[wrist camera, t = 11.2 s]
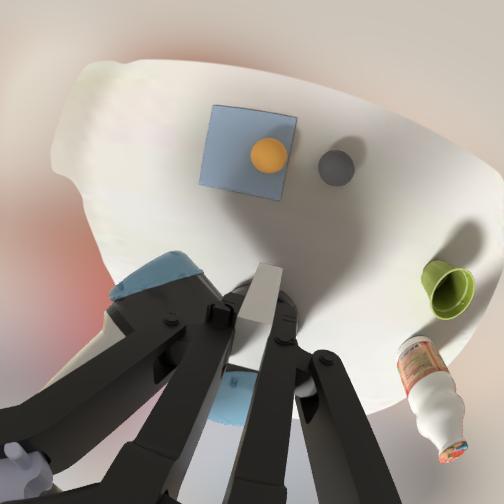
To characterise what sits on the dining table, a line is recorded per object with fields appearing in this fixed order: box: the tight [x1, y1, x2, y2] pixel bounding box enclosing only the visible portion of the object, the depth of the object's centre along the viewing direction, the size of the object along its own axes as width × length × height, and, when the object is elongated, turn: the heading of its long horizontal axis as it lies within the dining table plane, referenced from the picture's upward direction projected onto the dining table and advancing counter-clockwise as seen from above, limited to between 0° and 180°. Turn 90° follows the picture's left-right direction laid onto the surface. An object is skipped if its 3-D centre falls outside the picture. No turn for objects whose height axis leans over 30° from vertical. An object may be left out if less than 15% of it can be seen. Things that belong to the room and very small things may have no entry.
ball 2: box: [318, 151, 354, 186], centre depth 39 cm, size 6×6×6 cm
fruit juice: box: [395, 336, 468, 463], centre depth 36 cm, size 9×9×28 cm
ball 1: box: [251, 138, 287, 173], centre depth 41 cm, size 6×6×6 cm
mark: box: [199, 105, 297, 201], centre depth 43 cm, size 14×14×1 cm
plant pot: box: [421, 260, 475, 320], centre depth 40 cm, size 9×9×9 cm
